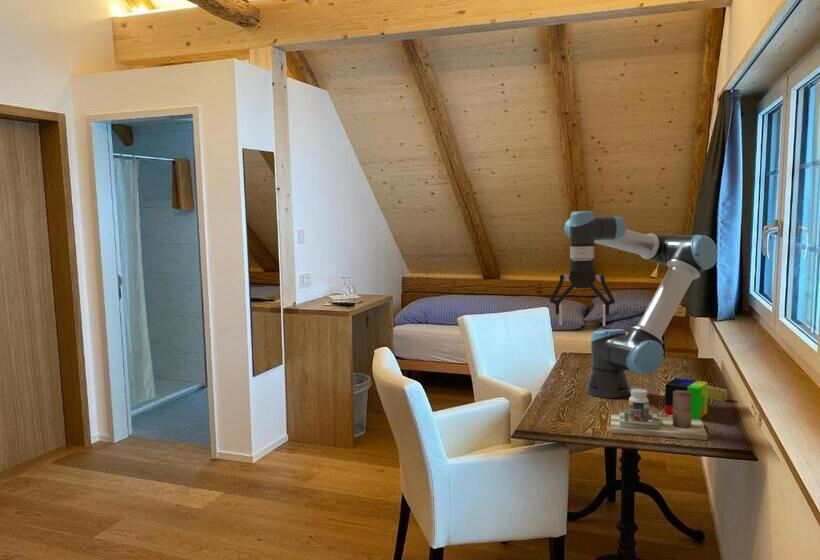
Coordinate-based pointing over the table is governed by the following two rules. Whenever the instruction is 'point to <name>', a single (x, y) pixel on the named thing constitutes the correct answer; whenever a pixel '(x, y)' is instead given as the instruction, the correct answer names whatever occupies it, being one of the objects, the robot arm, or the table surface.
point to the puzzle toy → (698, 396)
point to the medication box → (717, 393)
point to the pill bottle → (638, 406)
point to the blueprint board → (664, 422)
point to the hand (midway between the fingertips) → (582, 324)
